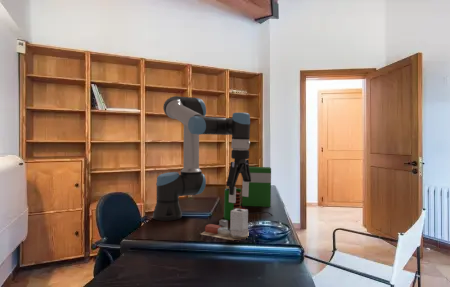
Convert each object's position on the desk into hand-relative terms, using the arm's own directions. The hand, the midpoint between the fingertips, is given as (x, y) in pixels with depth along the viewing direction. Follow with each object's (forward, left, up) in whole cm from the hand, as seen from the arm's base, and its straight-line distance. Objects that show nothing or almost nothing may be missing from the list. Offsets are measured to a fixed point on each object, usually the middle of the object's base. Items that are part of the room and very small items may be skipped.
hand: (239, 199), depth 125 cm
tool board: (-4, +1, -17) cm, 17 cm away
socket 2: (0, 0, -13) cm, 13 cm away
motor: (-15, +25, -17) cm, 33 cm away
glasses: (-9, +42, -17) cm, 46 cm away
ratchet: (-5, 0, -16) cm, 17 cm away
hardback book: (-16, +63, -17) cm, 67 cm away
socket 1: (-10, +5, -16) cm, 19 cm away
